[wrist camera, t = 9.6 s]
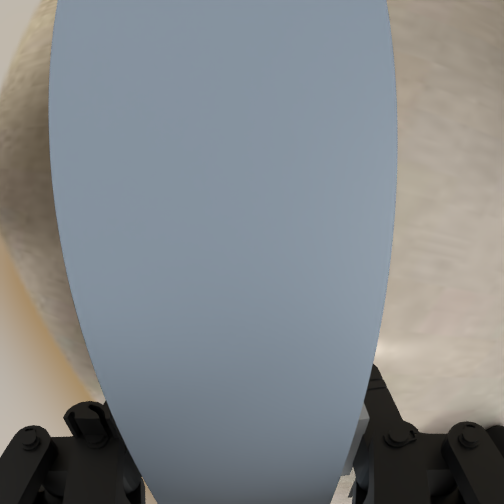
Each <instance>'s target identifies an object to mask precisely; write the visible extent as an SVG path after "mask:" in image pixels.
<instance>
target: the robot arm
mask: <svg viewBox="0 0 504 504" xmlns="http://www.w3.org/2000/svg"><path fill="white" fill-rule="evenodd" d="M63 418H64V420H65V422H66V424H67V425H68V427H69V429H70V431H71V433H72V434H73V436H72V437H50V435H49V434H48V432H47V431H46V429H44V428H42V427H40V426H35V425H33V426H27V427H24V428H23V429H21V430H19V431H18V432H17V434H15V436H14V437H13V439H12V440H11V442H10V443H9V445H8V446H7V448H6V449H5V451H4V453H3V454H2V456H1V457H0V504H145V486H144V482H143V479H142V478H141V477H142V475H141V473H140V472H139V470H138V468H137V466H136V464H135V462H134V460H133V458H132V456H131V454H130V452H129V450H128V448H127V446H126V444H125V442H124V440H123V438H122V436H121V433H120V431H119V429H118V427H117V425H116V422H115V420H114V418H113V416H112V413H111V411H110V408H109V406H108V404H107V401H105V403H104V405H102V404H100V403H99V402H93V401H88V402H81V403H78V404H76V405H74V406H72V407H71V408H70V409H69V410H68V411H67V412H66V414H65V415H64V417H63ZM352 467H354V471H355V475H356V479H355V481H354V484H353V486H352V488H351V490H350V493H349V496H348V497H352V496H353V498H352V504H504V458H503V457H502V455H501V453H500V452H499V450H498V449H497V447H496V445H495V444H494V442H493V441H492V439H491V438H490V436H489V435H488V433H487V432H486V430H485V429H484V428H483V427H482V426H480V425H478V424H476V423H473V422H467V421H466V422H460V423H458V424H456V425H454V426H453V427H452V428H451V430H450V431H449V433H448V434H426V433H420V432H419V431H418V429H417V428H416V427H414V426H413V425H412V424H410V423H408V422H406V421H403V419H402V418H401V415H400V413H399V411H398V409H397V407H396V405H395V403H394V401H393V398H392V396H391V394H390V392H389V390H388V388H387V386H386V384H385V382H384V380H383V379H382V376H381V374H380V372H379V370H378V368H377V367H376V366H375V365H374V364H373V365H372V370H371V374H370V378H369V382H368V386H367V390H366V394H365V398H364V402H363V406H362V409H361V413H360V417H359V420H358V424H357V427H356V430H355V434H354V437H353V440H352V443H351V447H350V450H349V453H348V456H347V459H346V462H345V465H344V468H343V470H342V473H341V476H344V475H350V472H351V470H352Z"/></svg>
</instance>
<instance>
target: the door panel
mask: <svg viewBox="0 0 504 504" xmlns="http://www.w3.org/2000/svg"><path fill="white" fill-rule="evenodd" d="M49 145H50V162H51V174H52V185H53V194H54V202H55V210H56V217H57V224H58V230H59V236H60V242H61V247H62V252H63V258H64V263H65V267H66V272H67V276H68V281H69V285H70V289H71V293H72V297H73V301H74V305H75V309H76V313H77V316H78V320H79V323H80V327H81V330H82V333H83V337H84V340H85V343H86V346H87V349H88V352H89V355H90V358H91V361H92V364H93V367H94V370H95V373H96V375H97V378H98V381H99V383H100V386H101V389H102V391H103V394H104V396H105V399H106V401H107V404H108V406H109V408H110V411H111V413H112V416H113V418H114V420H115V422H116V425H117V427H118V429H119V431H120V433H121V436H122V438H123V440H124V442H125V444H126V446H127V448H128V450H129V452H130V454H131V456H132V458H133V460H134V462H135V464H136V466H137V468H138V470H139V472H140V473H141V475H142V477H143V479H144V481H145V482H146V484H147V486H148V488H149V489H150V491H151V493H152V495H153V496H154V498H155V500H156V501H157V503H158V504H330V502H331V500H332V497H333V495H334V492H335V490H336V487H337V484H338V482H339V479H340V476H341V473H342V470H343V468H344V465H345V462H346V459H347V456H348V453H349V450H350V447H351V443H352V440H353V437H354V434H355V430H356V427H357V424H358V420H359V417H360V413H361V409H362V406H363V402H364V398H365V394H366V390H367V386H368V382H369V378H370V374H371V370H372V365H373V361H374V356H375V351H376V347H377V342H378V337H379V331H380V326H381V320H382V315H383V309H384V303H385V296H386V290H387V283H388V275H389V267H390V259H391V250H392V241H393V230H394V218H395V203H396V185H397V99H396V81H395V67H394V56H393V46H392V37H391V29H390V21H389V14H388V8H387V2H386V0H58V3H57V9H56V15H55V22H54V30H53V38H52V48H51V60H50V76H49Z"/></svg>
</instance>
